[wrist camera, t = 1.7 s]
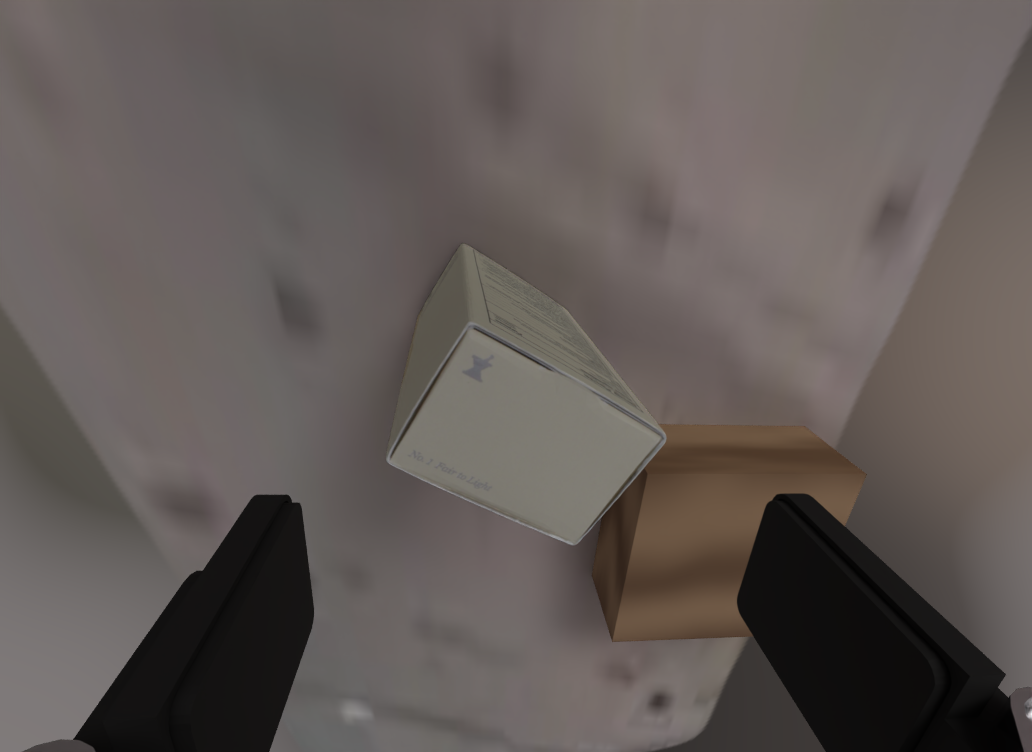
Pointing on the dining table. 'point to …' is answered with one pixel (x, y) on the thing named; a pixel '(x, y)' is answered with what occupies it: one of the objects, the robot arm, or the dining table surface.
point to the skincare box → (516, 405)
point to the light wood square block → (705, 525)
